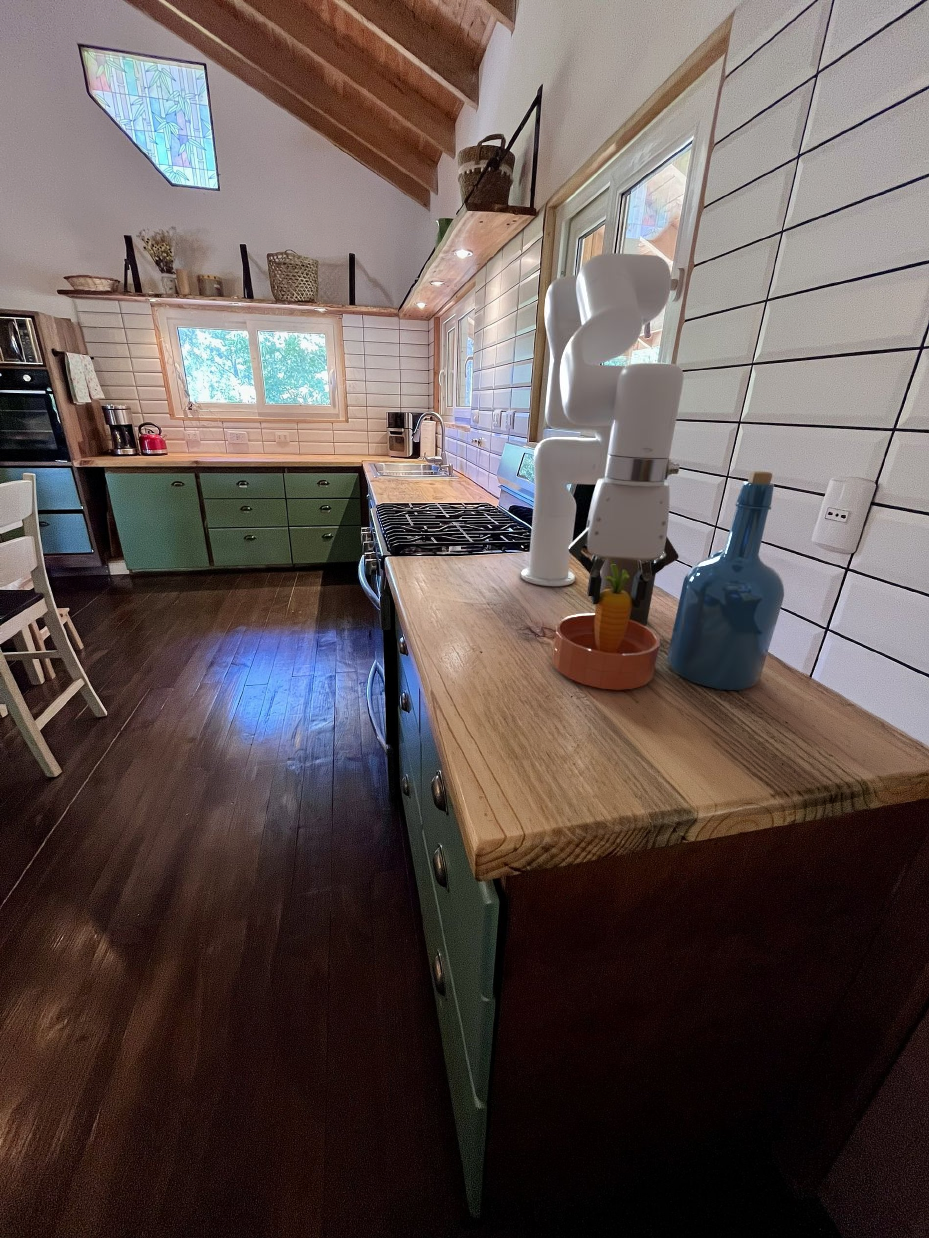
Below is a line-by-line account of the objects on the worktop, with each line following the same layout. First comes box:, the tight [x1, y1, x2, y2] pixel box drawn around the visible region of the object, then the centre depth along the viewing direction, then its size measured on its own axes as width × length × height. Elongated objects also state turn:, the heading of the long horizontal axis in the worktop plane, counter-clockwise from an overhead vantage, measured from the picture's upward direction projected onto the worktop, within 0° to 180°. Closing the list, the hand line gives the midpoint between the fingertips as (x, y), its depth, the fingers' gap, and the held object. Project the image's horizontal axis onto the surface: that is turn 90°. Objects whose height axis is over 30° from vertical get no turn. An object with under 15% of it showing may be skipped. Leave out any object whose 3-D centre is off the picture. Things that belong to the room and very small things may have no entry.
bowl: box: [551, 613, 661, 691], centre depth 76 cm, size 15×15×6 cm
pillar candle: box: [600, 557, 657, 627], centre depth 92 cm, size 10×10×15 cm
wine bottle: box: [667, 470, 785, 691], centre depth 72 cm, size 14×13×30 cm
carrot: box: [594, 564, 633, 653], centre depth 72 cm, size 5×5×15 cm
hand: (614, 601), depth 71 cm, fingers closed on carrot, 5 cm apart
